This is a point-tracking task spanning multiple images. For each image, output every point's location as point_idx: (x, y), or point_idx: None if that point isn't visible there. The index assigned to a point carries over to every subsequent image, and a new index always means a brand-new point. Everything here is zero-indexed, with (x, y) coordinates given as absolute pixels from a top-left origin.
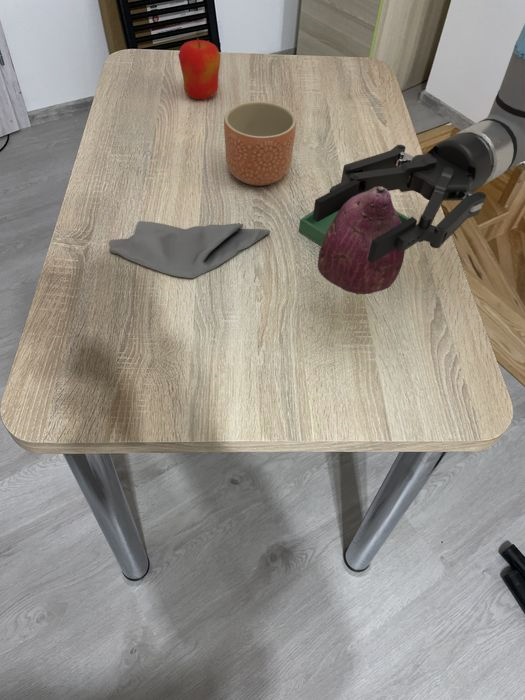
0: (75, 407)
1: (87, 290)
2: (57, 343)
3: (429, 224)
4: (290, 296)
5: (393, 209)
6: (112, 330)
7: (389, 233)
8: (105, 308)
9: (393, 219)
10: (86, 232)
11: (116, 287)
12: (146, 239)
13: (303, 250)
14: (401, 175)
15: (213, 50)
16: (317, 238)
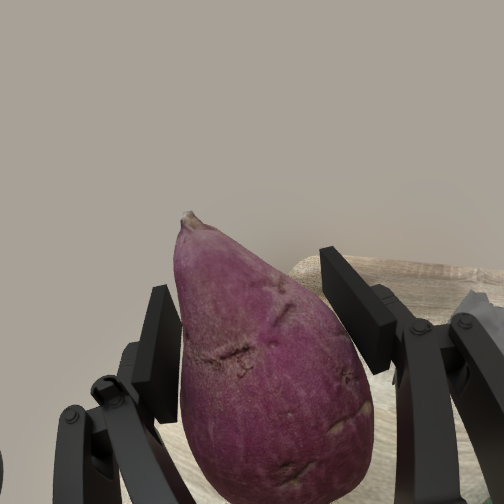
0: (311, 275)
1: (425, 282)
2: (372, 269)
3: (102, 406)
4: (388, 447)
5: (190, 330)
6: None
7: (154, 312)
8: (404, 290)
9: (185, 347)
10: (492, 281)
11: (428, 297)
12: (482, 307)
13: (475, 480)
14: (410, 498)
15: None
16: (490, 497)
